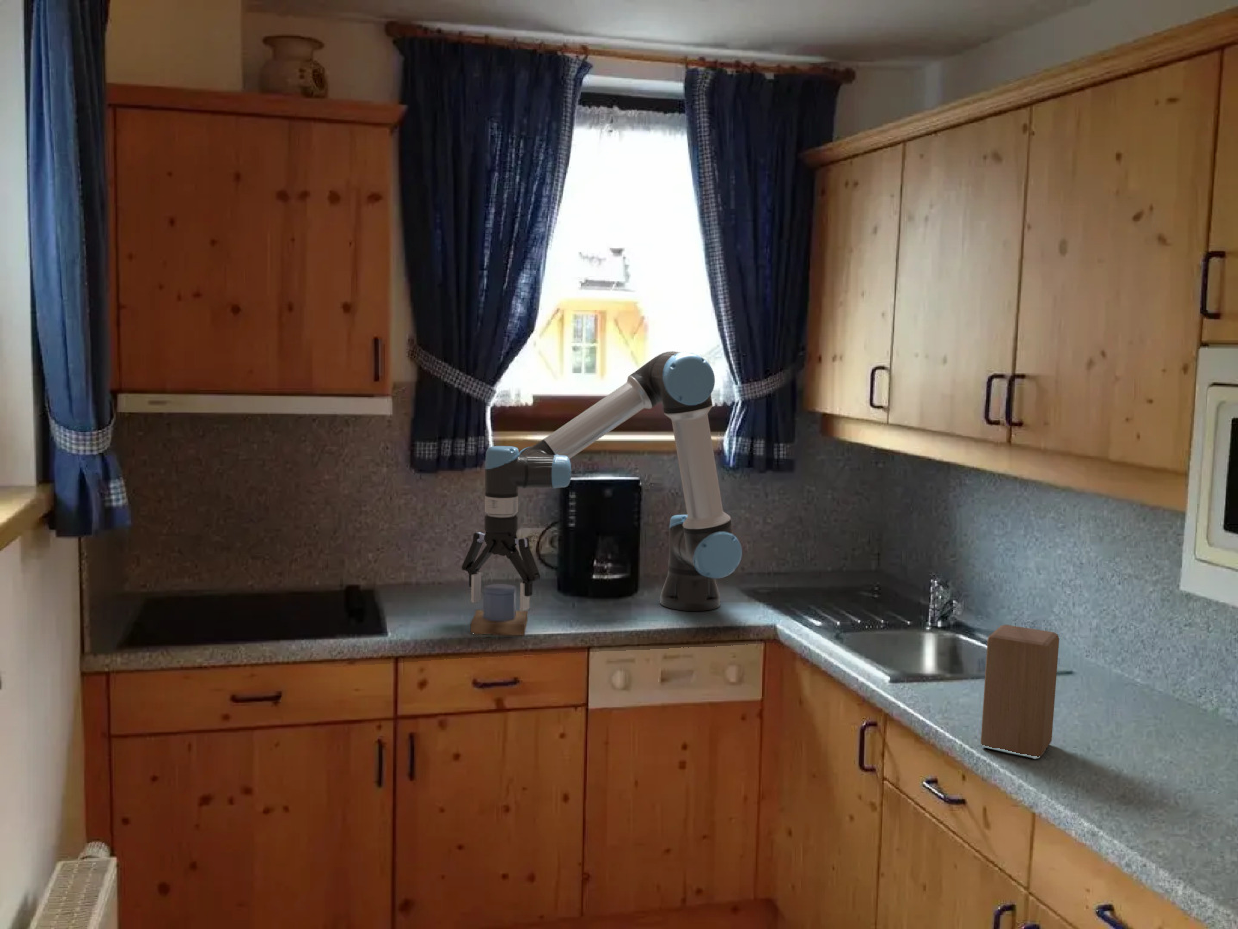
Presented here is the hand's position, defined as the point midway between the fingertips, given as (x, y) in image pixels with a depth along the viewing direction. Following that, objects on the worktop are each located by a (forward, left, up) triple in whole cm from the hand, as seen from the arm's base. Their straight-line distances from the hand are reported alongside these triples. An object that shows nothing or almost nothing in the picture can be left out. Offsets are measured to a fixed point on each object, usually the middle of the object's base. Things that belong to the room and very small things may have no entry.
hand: (500, 605), depth 262 cm
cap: (0, 0, -3) cm, 3 cm away
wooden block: (-94, +70, -5) cm, 117 cm away
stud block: (0, 0, -5) cm, 5 cm away
